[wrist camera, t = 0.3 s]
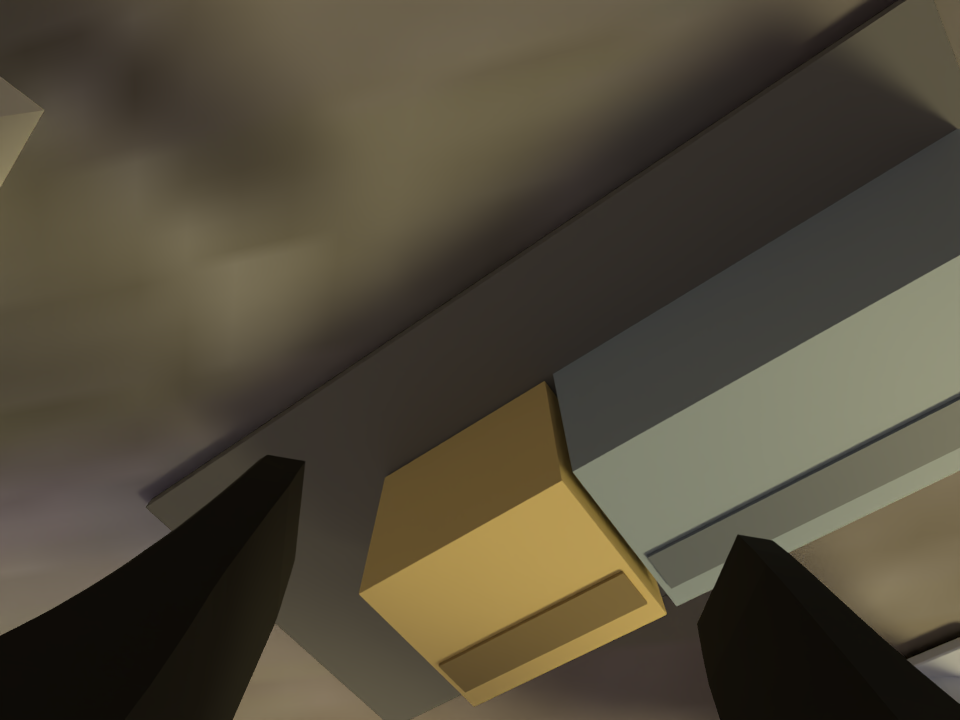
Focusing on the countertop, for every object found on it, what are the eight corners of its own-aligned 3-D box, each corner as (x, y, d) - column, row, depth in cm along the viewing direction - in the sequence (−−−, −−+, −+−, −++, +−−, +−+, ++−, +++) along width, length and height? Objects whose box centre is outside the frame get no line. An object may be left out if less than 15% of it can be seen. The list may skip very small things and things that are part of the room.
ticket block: (1017, 283, 19) (1189, 364, 14) (637, 488, 22) (677, 609, 17) (957, 128, 17) (1130, 162, 13) (552, 374, 20) (572, 474, 16)
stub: (629, 495, 22) (668, 617, 17) (476, 577, 23) (474, 710, 19) (544, 380, 20) (562, 483, 16) (384, 477, 22) (357, 596, 17)
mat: (1070, 386, 21) (1080, 392, 20) (393, 718, 27) (392, 728, 27) (918, -14, 16) (928, -14, 16) (151, 500, 23) (145, 507, 22)
